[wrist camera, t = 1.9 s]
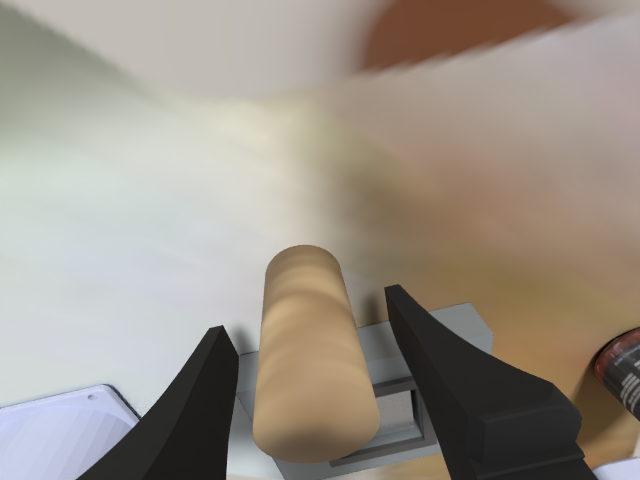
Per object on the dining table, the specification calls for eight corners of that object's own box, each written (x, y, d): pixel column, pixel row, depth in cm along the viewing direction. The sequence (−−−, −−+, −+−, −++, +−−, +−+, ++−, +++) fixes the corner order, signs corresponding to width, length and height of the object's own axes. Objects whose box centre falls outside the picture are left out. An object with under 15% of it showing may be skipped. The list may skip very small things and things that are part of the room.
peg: (277, 313, 18) (273, 473, 11) (255, 255, 16) (233, 406, 9) (347, 297, 18) (386, 448, 11) (333, 236, 16) (371, 374, 9)
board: (288, 449, 25) (289, 491, 22) (240, 355, 19) (234, 398, 17) (466, 409, 24) (486, 447, 22) (469, 302, 19) (496, 337, 17)
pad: (342, 434, 22) (343, 443, 21) (328, 392, 19) (329, 401, 19) (411, 418, 22) (414, 427, 21) (405, 374, 19) (409, 382, 19)
